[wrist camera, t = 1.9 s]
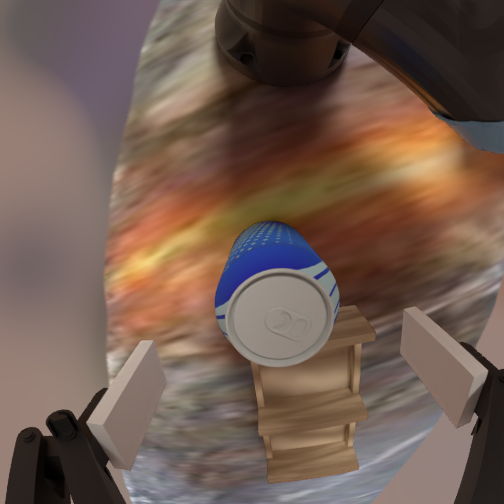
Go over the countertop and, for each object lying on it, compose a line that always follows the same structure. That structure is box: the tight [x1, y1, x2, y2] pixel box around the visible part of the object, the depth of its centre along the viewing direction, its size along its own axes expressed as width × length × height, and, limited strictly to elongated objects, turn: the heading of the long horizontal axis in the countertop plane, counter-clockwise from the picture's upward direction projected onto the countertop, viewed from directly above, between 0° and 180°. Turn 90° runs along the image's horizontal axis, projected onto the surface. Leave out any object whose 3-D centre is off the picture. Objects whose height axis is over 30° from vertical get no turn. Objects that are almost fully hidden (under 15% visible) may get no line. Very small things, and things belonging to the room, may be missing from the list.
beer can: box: [215, 221, 339, 367], centre depth 25 cm, size 8×8×16 cm
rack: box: [245, 305, 376, 484], centre depth 34 cm, size 24×13×7 cm, turn 7°
